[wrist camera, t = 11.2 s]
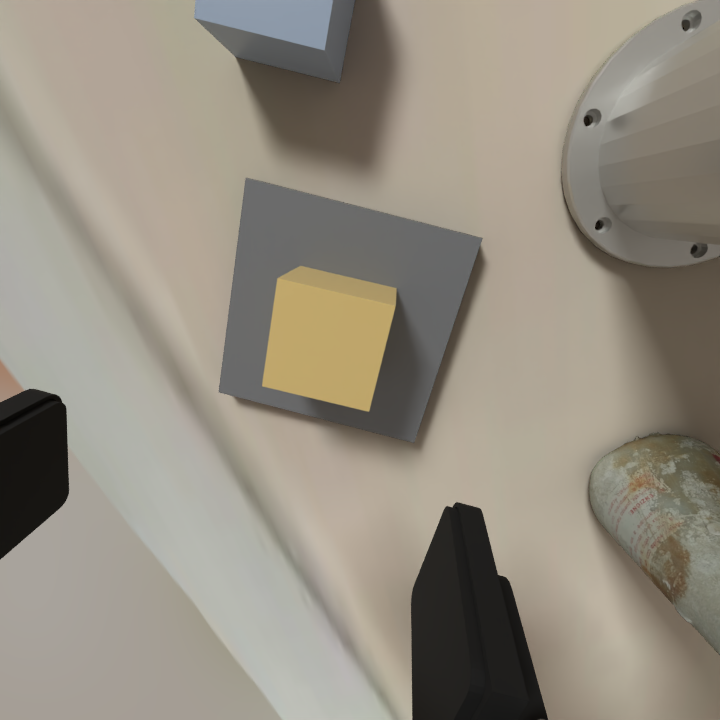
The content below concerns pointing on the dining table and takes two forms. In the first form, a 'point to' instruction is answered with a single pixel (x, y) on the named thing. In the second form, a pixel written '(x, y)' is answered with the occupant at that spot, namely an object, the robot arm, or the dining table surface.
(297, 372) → the brick bottom
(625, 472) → the bottle
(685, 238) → the robot arm
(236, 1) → the brick top
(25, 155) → the dining table surface
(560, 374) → the dining table surface
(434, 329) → the base plate
